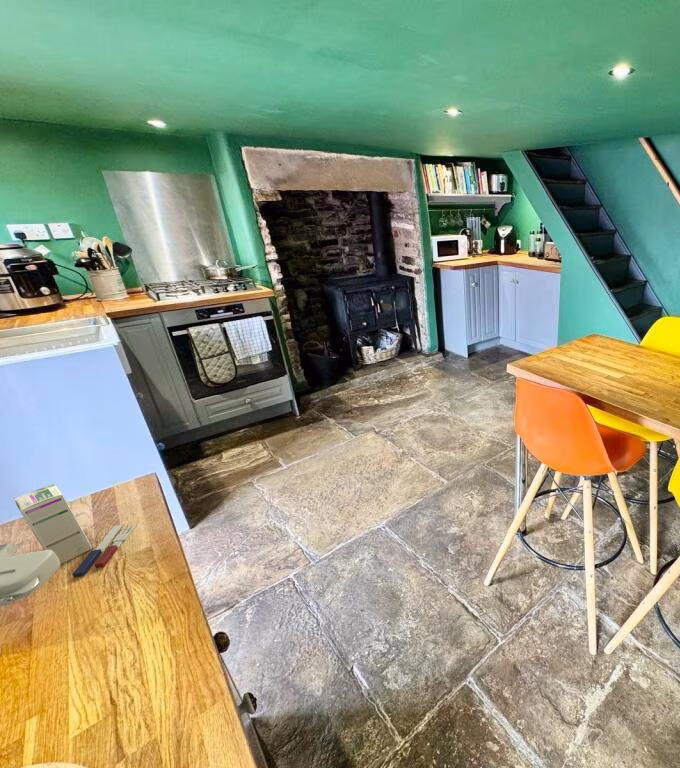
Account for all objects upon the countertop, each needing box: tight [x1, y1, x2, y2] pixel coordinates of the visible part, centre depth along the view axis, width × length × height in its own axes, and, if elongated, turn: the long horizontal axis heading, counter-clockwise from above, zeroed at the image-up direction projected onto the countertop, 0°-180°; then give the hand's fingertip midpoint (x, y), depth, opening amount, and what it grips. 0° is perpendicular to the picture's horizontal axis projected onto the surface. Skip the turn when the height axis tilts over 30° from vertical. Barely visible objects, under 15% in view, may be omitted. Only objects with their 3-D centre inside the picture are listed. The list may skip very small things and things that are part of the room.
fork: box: [93, 523, 137, 569], centre depth 84 cm, size 2×12×1 cm, turn 18°
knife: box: [72, 524, 124, 579], centre depth 83 cm, size 2×14×1 cm, turn 18°
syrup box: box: [13, 484, 93, 564], centre depth 80 cm, size 6×6×14 cm
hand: (4, 547), depth 69 cm, fingers closed
